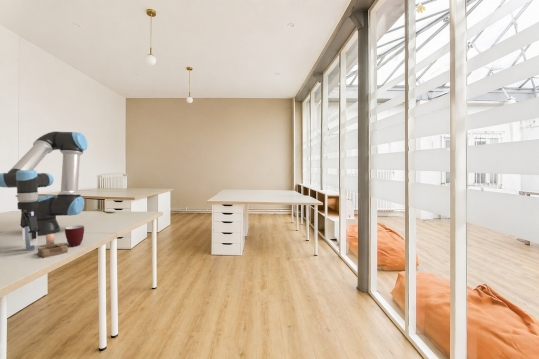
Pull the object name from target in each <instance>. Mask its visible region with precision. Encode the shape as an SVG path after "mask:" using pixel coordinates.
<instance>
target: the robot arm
mask: <svg viewBox="0 0 539 359" xmlns="http://www.w3.org/2000/svg"><path fill="white" fill-rule="evenodd" d="M87 149H88V140H87V137H86V136H85V135H84V134H83V133H81V132H75V131H51V132H47V133H45V134H42V135H41V136H39V137H38V138H37V139H36V140H35V141H34V142H33V143H32V146H31V148H30V149H29V150H28V151H26V153H24V155H23V156H22V157H21V158H20V159H19V160H18V161H17V162H16V163H15V164H14V165H13V166H12V167H11V168H10V170H8V171H7V172H1V173H0V188H10V189H11V188H13V189H14V188H16V194H15V198H16V199H17V209H18V210H20V211H21V212H20V213H21V215H20V224H19V225H20V227H21V240H22V241H23V242H24V241H25V227H26V226H29V229H30V231H29V232H28V233H29V235H30V246H32V245H34V246H37V245H38V243H39V242H38V241H39V240H38V236H46V235H47V234H56V233H58V232H60V231H61V226H60V224H59V222H58V220H57V216H58V217H60V216H61V217H62V216H64V217H65V216H77V215H79V214H81V213H82V211H83V210H84V207H85V199H84V197H82V195H81V193H80V192H79V176H80V158H81V155H83V154H84V151H86V150H87ZM58 150H59V152H60V153H61V154H62V163H61V164H62V166H61V179H60V180H61V181H60V183H61V184H60V191H59V192H58V193H57V196H56V195H55V194H49V195H41V196H39V191H38V188H48V187H49V186H52V185H53V184H54V180H55V179H54V176H53V175H51V174H50V173H47V172H40V173H39V172H37V170H35V168H36V167H37V166H38V165H39V164H40V163H41V161H43V159H44V158H45V157H46V155H48V154H51V153H52V152H53V151H58Z"/></svg>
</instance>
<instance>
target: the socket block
mask: <svg viewBox="0 0 539 359" xmlns="http://www.w3.org/2000/svg"><path fill="white" fill-rule="evenodd" d="M68 252H69V251H68V246H67V245H66V244H63V243H62V242H59V243H54V245H49V246H46V245H45V246H40V247H37V254H38V255H39V256H40V257H42V258H49V257H53V256H58V255H63V254H66V253H67V254H68Z"/></svg>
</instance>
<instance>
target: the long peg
mask: <svg viewBox="0 0 539 359" xmlns="http://www.w3.org/2000/svg"><path fill="white" fill-rule="evenodd" d="M29 231H30V229H29V226H26V227H25V240H24V241H25V251H26V252H27V251H28V252H29V251H33V250H35V245H32V246H30V235H29V233H28V232H29Z"/></svg>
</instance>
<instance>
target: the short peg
mask: <svg viewBox="0 0 539 359" xmlns="http://www.w3.org/2000/svg"><path fill="white" fill-rule="evenodd" d="M45 237H46V238H45V240H46V242H45V243H46V245H45V246H49V245H54V244H55V233H52V234H47V235H45Z"/></svg>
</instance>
